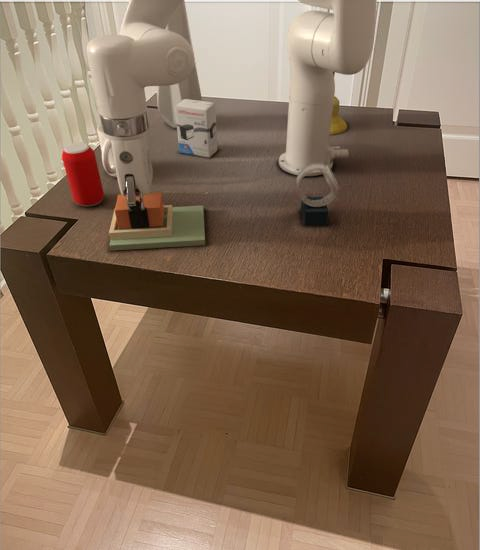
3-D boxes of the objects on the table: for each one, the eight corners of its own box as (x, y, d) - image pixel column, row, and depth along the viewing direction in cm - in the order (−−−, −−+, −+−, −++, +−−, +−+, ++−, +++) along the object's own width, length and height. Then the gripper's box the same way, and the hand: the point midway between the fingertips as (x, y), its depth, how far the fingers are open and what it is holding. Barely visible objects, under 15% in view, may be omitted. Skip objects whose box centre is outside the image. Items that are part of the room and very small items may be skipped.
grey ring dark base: (336, 225, 87) (344, 172, 80) (295, 226, 87) (299, 173, 80) (331, 209, 92) (338, 158, 85) (291, 210, 92) (295, 159, 85)
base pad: (203, 210, 92) (202, 198, 90) (205, 245, 83) (204, 232, 81) (118, 215, 91) (115, 203, 89) (110, 250, 82) (107, 238, 80)
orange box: (164, 210, 87) (161, 191, 85) (162, 226, 83) (160, 207, 81) (121, 212, 87) (118, 194, 84) (118, 229, 83) (114, 210, 80)
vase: (201, 131, 123) (192, -11, 102) (159, 132, 123) (141, -11, 102) (205, 115, 132) (197, -19, 111) (165, 115, 133) (150, -18, 112)
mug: (125, 188, 99) (117, 143, 93) (91, 184, 101) (80, 139, 94) (147, 164, 108) (141, 121, 102) (116, 160, 110) (107, 118, 103)
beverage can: (85, 212, 92) (70, 156, 84) (69, 202, 95) (53, 147, 87) (111, 201, 95) (99, 146, 88) (94, 191, 98) (81, 137, 91)
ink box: (178, 152, 113) (173, 105, 105) (187, 145, 116) (183, 98, 109) (209, 158, 110) (207, 109, 103) (218, 150, 114) (216, 102, 106)
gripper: (144, 143, 67) (159, 243, 79) (151, 103, 80) (163, 194, 92) (93, 145, 67) (115, 246, 78) (108, 104, 80) (126, 196, 91)
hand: (141, 217), depth 85 cm, fingers closed on orange box, 5 cm apart
